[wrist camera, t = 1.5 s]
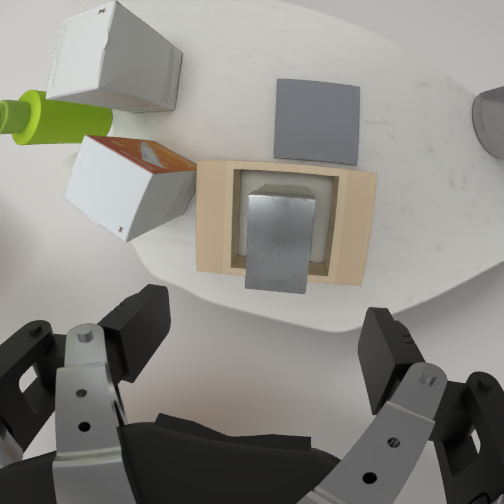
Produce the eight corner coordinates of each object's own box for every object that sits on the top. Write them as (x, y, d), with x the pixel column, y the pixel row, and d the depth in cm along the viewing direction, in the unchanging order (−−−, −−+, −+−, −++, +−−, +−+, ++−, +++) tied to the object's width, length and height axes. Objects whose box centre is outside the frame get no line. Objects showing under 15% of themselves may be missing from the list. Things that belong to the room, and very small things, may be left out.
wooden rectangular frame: (366, 172, 29) (376, 173, 25) (354, 272, 32) (361, 286, 29) (208, 160, 31) (197, 160, 27) (207, 259, 35) (196, 270, 31)
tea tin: (307, 186, 30) (315, 199, 19) (302, 248, 33) (305, 294, 21) (265, 183, 31) (248, 194, 20) (262, 244, 33) (244, 288, 22)
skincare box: (140, 56, 28) (61, 17, 13) (187, 51, 27) (119, -5, 12) (131, 115, 30) (40, 101, 16) (178, 113, 30) (96, 87, 15)
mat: (358, 88, 26) (359, 86, 25) (355, 165, 29) (356, 165, 28) (277, 80, 27) (277, 78, 26) (274, 157, 30) (273, 157, 29)
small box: (207, 168, 31) (155, 173, 19) (183, 215, 33) (125, 246, 21) (152, 139, 31) (83, 133, 19) (132, 184, 33) (61, 199, 21)
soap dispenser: (82, 100, 30) (-33, 88, 12) (117, 103, 30) (-8, 82, 11) (72, 139, 32) (-44, 147, 13) (106, 146, 32) (-21, 153, 13)
